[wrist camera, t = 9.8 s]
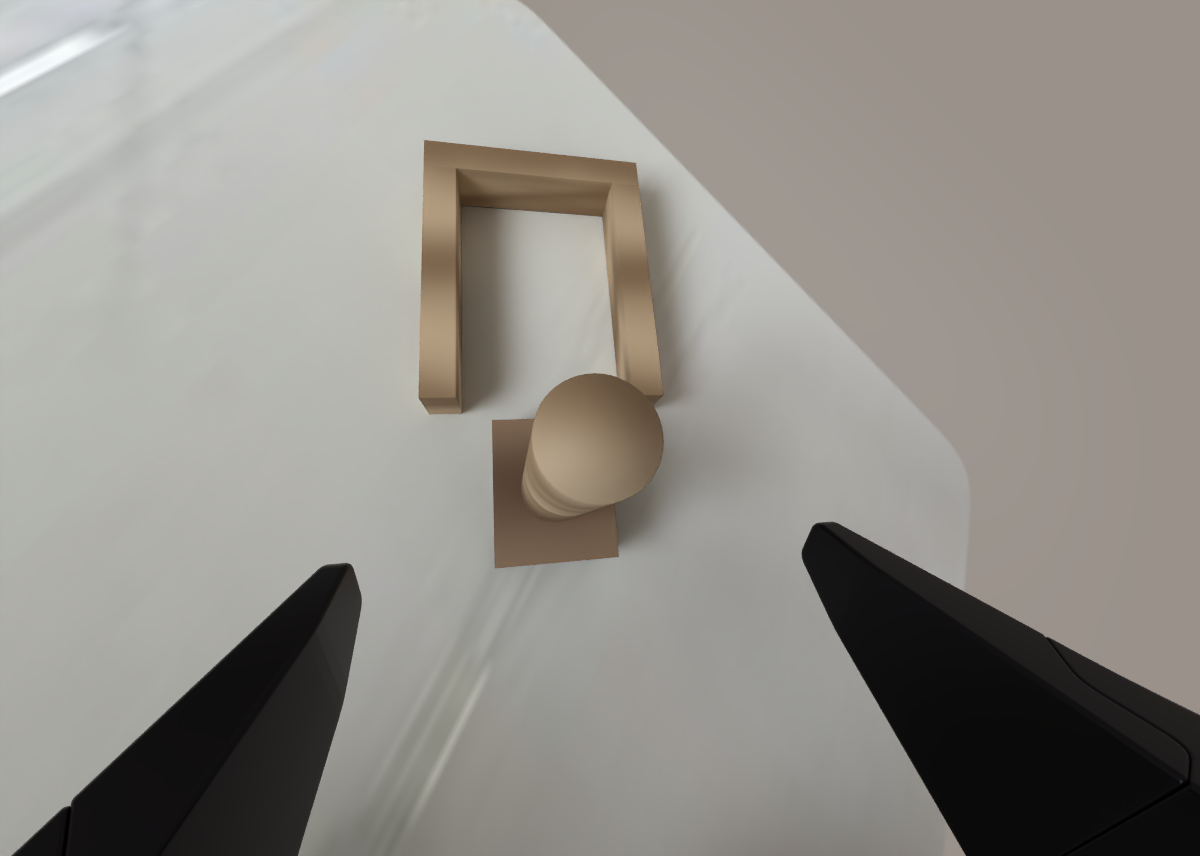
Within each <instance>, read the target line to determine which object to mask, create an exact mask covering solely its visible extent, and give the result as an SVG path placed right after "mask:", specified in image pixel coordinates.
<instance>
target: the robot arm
mask: <svg viewBox="0 0 1200 856" xmlns="http://www.w3.org/2000/svg"><path fill="white" fill-rule="evenodd" d="M802 559H803V562H804V565H805V567H806V569H807V571H808V573H809V575H810V577H811V580H812V582H813V584H814V586H815V588H816V590H817V592H818V595H819V597H820V599H821V601H822V603H823V605H824V608H825V610H826V612H827V614H828V616H829V618H830V620H831V622H832V624H833V626H834V628H835V630H836V632H837V634H838V636H839V637H840V639H841V641H842V643H843V644H844V646H845V648H846V650H847V651H848V653H849V655H850V657H851V658H852V660H853V662H854V663H855V665H856V667H857V669H858V670H859V672H860V674H861V676H862V677H863V679H864V681H865V682H866V684H867V686H868V688H869V689H870V691H871V693H872V695H873V696H874V698H875V700H876V701H877V703H878V705H879V707H880V708H881V710H882V712H883V714H884V715H885V717H886V719H887V720H888V722H889V724H890V726H891V727H892V729H893V731H894V732H895V734H896V736H897V738H898V739H899V741H900V743H901V745H902V746H903V748H904V750H905V751H906V753H907V755H908V757H909V758H910V760H911V762H912V764H913V765H914V767H915V769H916V770H917V772H918V774H919V776H920V777H921V779H922V781H923V783H924V784H925V786H926V788H927V789H928V791H929V793H930V795H931V796H932V798H933V800H934V802H935V803H936V805H937V807H938V808H939V810H940V812H941V814H942V815H943V817H944V819H945V820H946V822H947V824H948V826H949V827H950V829H951V831H952V833H953V834H954V836H955V838H956V839H957V841H958V843H959V845H960V846H961V848H962V850H963V851H964V853H965V855H966V856H1200V715H1199V714H1197V713H1195V712H1192V711H1191V710H1188V709H1186V708H1184V707H1182V706H1180V705H1178V704H1176V703H1174V702H1172V701H1170V700H1168V699H1166V698H1164V697H1162V696H1160V695H1158V694H1156V693H1154V692H1152V691H1150V690H1148V689H1146V688H1144V687H1142V686H1140V685H1138V684H1136V683H1134V682H1132V681H1130V680H1128V679H1126V678H1124V677H1122V676H1120V675H1118V674H1116V673H1115V672H1113V671H1111V670H1109V669H1107V668H1105V667H1103V666H1101V665H1099V664H1098V663H1096V662H1094V661H1092V660H1090V659H1088V658H1086V657H1084V656H1082V655H1080V654H1078V653H1077V652H1075V651H1073V650H1071V649H1069V648H1067V647H1066V646H1064V645H1062V644H1060V643H1058V642H1056V641H1055V640H1053V639H1051V638H1048V637H1045V636H1044V635H1043V634H1041V633H1039V632H1038V631H1036V630H1034V629H1032V628H1030V627H1029V626H1027V625H1025V624H1023V623H1021V622H1019V621H1017V620H1015V619H1014V618H1012V617H1010V616H1008V615H1006V614H1004V613H1003V612H1001V611H999V610H997V609H995V608H993V607H992V606H990V605H988V604H986V603H984V602H982V601H980V600H978V599H977V598H975V597H973V596H971V595H969V594H967V593H966V592H964V591H962V590H960V589H958V588H956V587H954V586H953V585H951V584H949V583H947V582H945V581H943V580H942V579H940V578H938V577H936V576H934V575H932V574H930V573H929V572H927V571H925V570H923V569H921V568H919V567H918V566H916V565H914V564H912V563H910V562H908V561H906V560H905V559H903V558H901V557H899V556H897V555H895V554H893V553H892V552H890V551H888V550H886V549H884V548H882V547H881V546H879V545H877V544H875V543H873V542H871V541H869V540H868V539H866V538H864V537H862V536H860V535H858V534H857V533H855V532H853V531H851V530H849V529H847V528H845V527H844V526H842V525H840V524H838V523H835V522H822V523H816V524H815V525H814V526H813V527H812V529H811V531H810V533H809V535H808V538H807V540H806V542H805V544H804V547H803V549H802ZM361 604H362V598H361V592H360V589H359V585H358V582H357V579H356V575H355V572H354V569H353V567H352V565H351V564H349V563H341V564H329V565H325V566H323V567H321V568H320V569H318V570H317V571H316V572H315V573H314V574H313V575H312V576H311V577H310V578H309V579H308V580H307V581H305V582H304V583H303V584H302V585H301V586H300V587H299V588H298V589H297V590H296V591H295V592H294V593H293V594H292V595H290V596H289V597H288V598H287V599H286V600H285V601H284V602H283V603H282V604H281V605H280V606H279V607H278V608H277V609H275V610H274V611H273V612H272V613H271V614H270V615H269V616H268V617H267V618H266V619H265V620H264V621H263V622H262V623H260V624H259V625H258V626H257V627H256V628H255V629H254V630H253V631H252V632H251V633H250V634H249V635H248V636H247V637H245V638H244V639H243V640H242V641H241V642H240V643H239V644H238V645H237V646H236V647H235V648H234V649H233V650H232V651H231V652H229V653H228V654H227V655H226V656H225V657H224V658H223V659H222V660H221V661H220V662H219V663H218V664H217V665H216V666H214V667H213V668H212V669H211V670H210V671H209V672H208V673H207V674H206V675H205V676H204V677H203V678H202V679H201V680H199V681H198V682H197V683H196V684H195V685H194V686H193V687H192V688H191V689H190V690H189V691H188V692H187V693H186V694H184V695H183V696H182V697H181V698H180V699H179V700H178V701H177V702H176V703H175V704H174V705H173V706H172V707H171V708H169V709H168V710H167V711H166V712H165V713H164V714H163V715H162V716H161V717H160V718H159V719H158V720H157V721H156V722H155V723H153V724H152V725H151V726H150V727H149V728H148V729H147V730H146V731H145V732H144V733H143V734H142V735H141V736H140V737H138V738H137V739H136V740H135V741H134V742H133V743H132V744H131V745H130V746H129V747H128V748H127V749H126V750H125V751H123V752H122V753H121V754H120V755H119V756H118V757H117V758H116V759H115V760H114V761H113V762H112V763H111V764H110V765H108V766H107V767H106V768H105V769H104V770H103V771H102V772H101V773H100V774H99V775H98V776H97V777H96V778H95V779H93V780H92V781H91V782H90V783H89V784H88V785H87V786H86V787H85V788H84V789H83V790H82V791H81V792H80V793H79V794H77V795H76V796H75V797H74V798H73V800H72V802H71V806H67V807H64V808H62V809H61V810H60V811H59V812H58V813H57V814H56V815H55V816H54V817H52V818H51V819H50V820H49V821H48V822H47V823H46V824H45V825H44V826H43V827H42V828H41V829H40V830H39V831H37V832H36V833H35V834H34V835H33V836H32V837H31V838H30V839H29V840H28V841H27V842H26V843H25V844H24V845H22V846H21V847H20V848H19V849H18V850H17V851H16V852H15V853H14V854H13V855H12V856H298V853H299V850H300V846H301V843H302V840H303V836H304V833H305V830H306V826H307V823H308V820H309V816H310V813H311V810H312V806H313V803H314V800H315V796H316V793H317V790H318V786H319V783H320V780H321V776H322V773H323V770H324V766H325V763H326V760H327V756H328V753H329V750H330V746H331V743H332V740H333V736H334V733H335V730H336V726H337V723H338V720H339V716H340V713H341V709H342V705H343V702H344V697H345V692H346V687H347V682H348V677H349V671H350V666H351V660H352V655H353V650H354V644H355V639H356V634H357V628H358V623H359V617H360V612H361Z"/></svg>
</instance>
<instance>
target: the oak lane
mask: <svg viewBox="0 0 1200 856" xmlns="http://www.w3.org/2000/svg"><path fill="white" fill-rule="evenodd" d="M461 205H466V206H478V207H491V208H504V209H516V210H529V211H542V212H554V213H567V214H580V215H592V216H602V218H603V228H604V239H605V250H606V261H607V271H608V282H609V293H610V303H611V314H612V325H613V335H614V346H615V357H616V367H617V378H620V379H622V380H625V381H627V382H628V383H630V384H632V385H633V386H635V387H636V388H637V389H639V390H640V391H641V392H642V393H643V394H644V395H645V396H646V397H647V398H648V400H649V401H650V402H651V404H652V405H653V404H654V403H655V402H657V401H658V400H659V399H660V398H661V397H662V396H663V386H662V378H661V370H660V361H659V353H658V344H657V336H656V328H655V319H654V311H653V302H652V294H651V286H650V277H649V269H648V261H647V252H646V244H645V235H644V227H643V219H642V210H641V202H640V193H639V185H638V177H637V168H636V163H632V162H622V161H613V160H604V159H595V158H585V157H576V156H567V155H557V154H548V153H539V152H530V151H520V150H511V149H502V148H492V147H483V146H474V145H465V144H455V143H446V142H437V141H427V140H424V179H423V224H422V270H421V315H420V360H419V399H420V401H421V402H422V404H423V405H424V407H425V408H426V410H427V412H428V413H429V414H462V279H461Z"/></svg>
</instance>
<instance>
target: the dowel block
mask: <svg viewBox="0 0 1200 856" xmlns="http://www.w3.org/2000/svg"><path fill="white" fill-rule="evenodd" d="M492 441H493V495H494V550H495V568H504V567H514V566H525V565H536V564H547V563H557V562H568V561H579V560H590V559H601V558H611V557H619V554H618V542H617V530H616V518H615V506H614V503H617V502H620V501H623V500H625V499H627V498H629V497H631V496H633V495H635V494H636V493H638V492H639V491H640V490H642V489H643V488H644V487H645V486H646V485H647V484H648V483H649V482H650V480H651V479H652V477H653V476H654V475H655V473H656V471H657V469H658V467H659V464H660V461H661V458H662V453H663V444H664V440H663V431H662V425H661V422H660V419H659V417H658V414H657V412H656V410H655V408H654V407H653V405H652V404H651V402H650V401H649V400H648V398H647V397H646V396H645V395H644V394H643V393H642V392H641V391H640V390H639V389H637V388H636V387H635V386H633V385H632V384H630V383H628V382H627V381H625V380H622V379H620V378H617V377H614V376H611V375H606V374H595V373H594V374H584V375H579V376H576V377H573V378H570V379H568V380H566V381H564V382H562V383H561V384H559V385H558V386H556V387H555V388H554V389H553V390H552V391H550V392H549V394H548V395H547V396H546V397H545V398H544V400H543V401H542V403H541V404H540V406H539V408H538V411H537V413H536V416H535V419H520V420H492Z"/></svg>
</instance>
